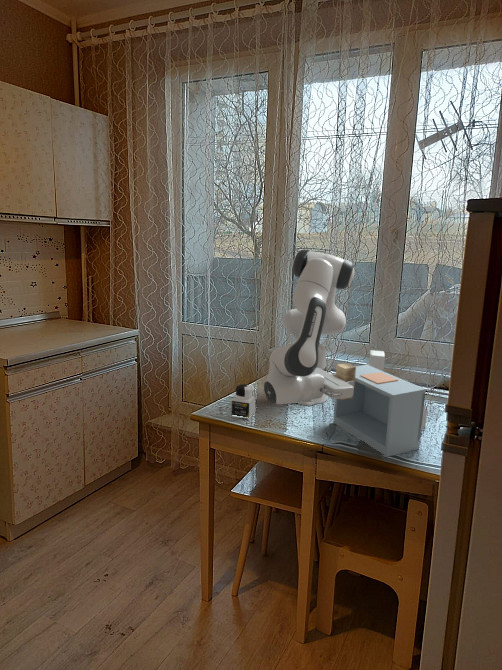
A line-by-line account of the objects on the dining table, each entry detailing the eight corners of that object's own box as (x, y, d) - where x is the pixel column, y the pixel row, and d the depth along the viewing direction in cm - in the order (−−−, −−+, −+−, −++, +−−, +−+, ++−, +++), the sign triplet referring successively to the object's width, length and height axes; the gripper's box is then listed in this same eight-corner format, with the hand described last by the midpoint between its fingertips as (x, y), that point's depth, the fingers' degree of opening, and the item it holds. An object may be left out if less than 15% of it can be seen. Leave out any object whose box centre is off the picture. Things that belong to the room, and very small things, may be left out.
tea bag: (425, 426, 178) (428, 401, 176) (420, 432, 173) (423, 406, 170) (415, 423, 180) (418, 398, 178) (410, 429, 175) (413, 404, 172)
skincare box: (367, 381, 227) (369, 349, 223) (381, 382, 226) (384, 350, 222) (367, 387, 219) (370, 354, 215) (382, 388, 218) (385, 355, 214)
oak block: (342, 400, 157) (344, 368, 154) (334, 395, 161) (336, 364, 158) (353, 398, 159) (356, 367, 156) (344, 393, 163) (347, 363, 160)
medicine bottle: (231, 417, 182) (231, 387, 179) (238, 410, 189) (238, 381, 186) (248, 420, 180) (249, 390, 177) (255, 413, 186) (255, 384, 183)
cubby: (387, 456, 154) (393, 394, 149) (333, 422, 179) (337, 368, 174) (419, 448, 160) (426, 388, 155) (362, 416, 185) (367, 363, 180)
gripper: (332, 387, 143) (368, 381, 149) (296, 366, 160) (330, 361, 166) (330, 406, 144) (366, 399, 150) (295, 384, 162) (328, 378, 168)
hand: (347, 379), depth 158 cm, fingers closed on oak block, 4 cm apart
